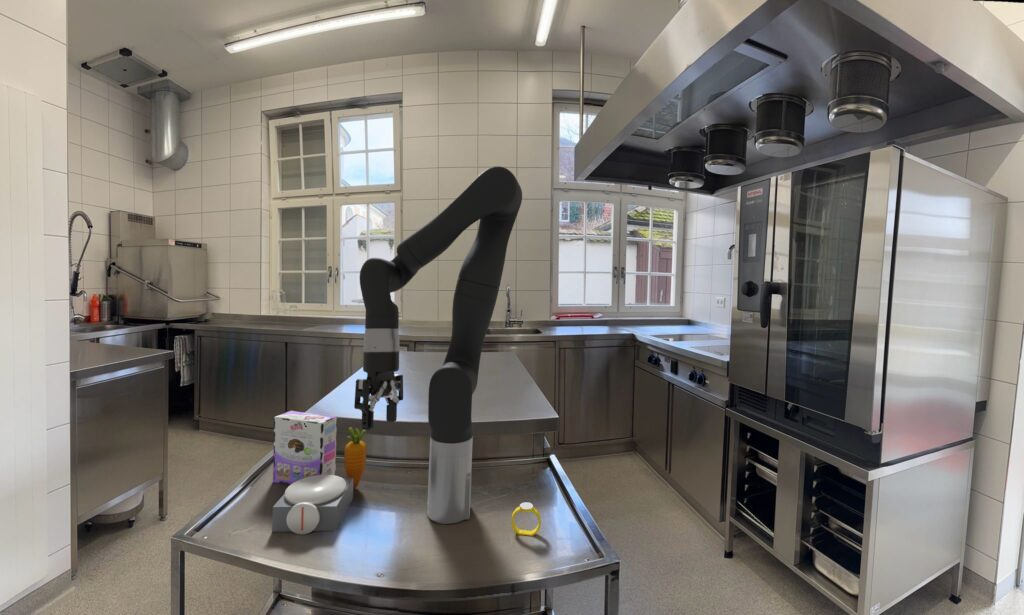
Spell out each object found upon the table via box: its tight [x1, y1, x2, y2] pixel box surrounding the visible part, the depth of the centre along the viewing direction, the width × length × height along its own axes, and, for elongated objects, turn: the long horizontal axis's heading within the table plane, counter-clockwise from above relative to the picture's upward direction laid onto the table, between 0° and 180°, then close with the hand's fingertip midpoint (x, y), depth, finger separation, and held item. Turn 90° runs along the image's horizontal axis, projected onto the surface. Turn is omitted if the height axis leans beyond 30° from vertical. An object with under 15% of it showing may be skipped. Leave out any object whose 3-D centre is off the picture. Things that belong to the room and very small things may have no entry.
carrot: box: [343, 426, 368, 490], centre depth 97 cm, size 5×5×15 cm
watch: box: [510, 502, 542, 537], centre depth 83 cm, size 6×3×6 cm, turn 84°
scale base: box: [271, 477, 354, 535], centre depth 85 cm, size 12×13×6 cm
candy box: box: [272, 410, 338, 486], centre depth 99 cm, size 14×6×16 cm, turn 77°
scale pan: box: [284, 474, 346, 505], centre depth 86 cm, size 12×12×1 cm
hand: (380, 425), depth 87 cm, fingers open, 8 cm apart
